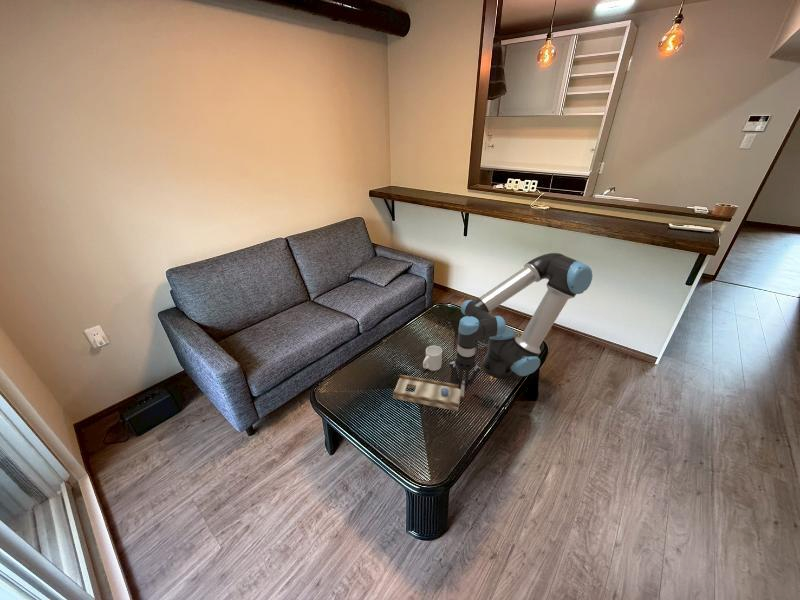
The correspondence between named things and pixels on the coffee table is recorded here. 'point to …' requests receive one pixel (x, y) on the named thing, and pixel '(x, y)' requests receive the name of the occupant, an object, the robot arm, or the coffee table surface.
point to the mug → (433, 358)
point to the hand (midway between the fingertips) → (462, 393)
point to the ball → (444, 391)
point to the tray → (427, 392)
